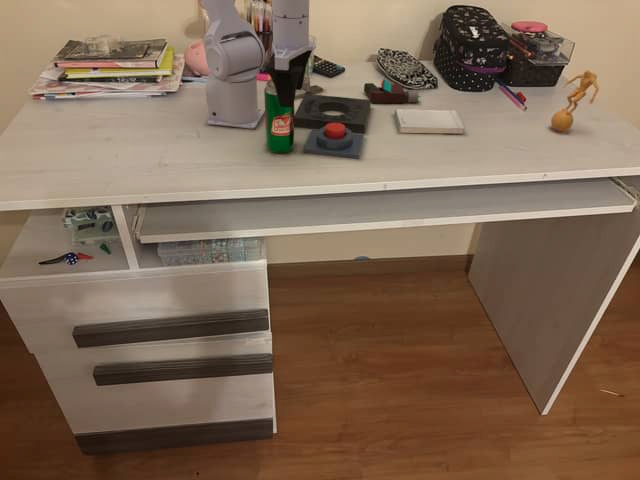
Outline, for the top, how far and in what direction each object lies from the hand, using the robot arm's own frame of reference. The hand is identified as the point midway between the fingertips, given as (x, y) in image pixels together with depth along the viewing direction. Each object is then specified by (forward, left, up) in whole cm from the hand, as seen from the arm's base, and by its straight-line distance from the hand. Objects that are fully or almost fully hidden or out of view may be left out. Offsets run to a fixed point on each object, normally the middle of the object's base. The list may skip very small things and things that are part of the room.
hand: (291, 97), depth 88 cm
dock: (+6, +14, -9) cm, 18 cm away
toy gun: (+17, +28, -10) cm, 34 cm away
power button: (+8, +2, -7) cm, 11 cm away
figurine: (+52, +19, -10) cm, 56 cm away
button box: (+8, +2, -9) cm, 12 cm away
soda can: (-2, -1, -10) cm, 10 cm away
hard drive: (+25, +15, -10) cm, 30 cm away
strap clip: (-2, +25, -10) cm, 27 cm away
